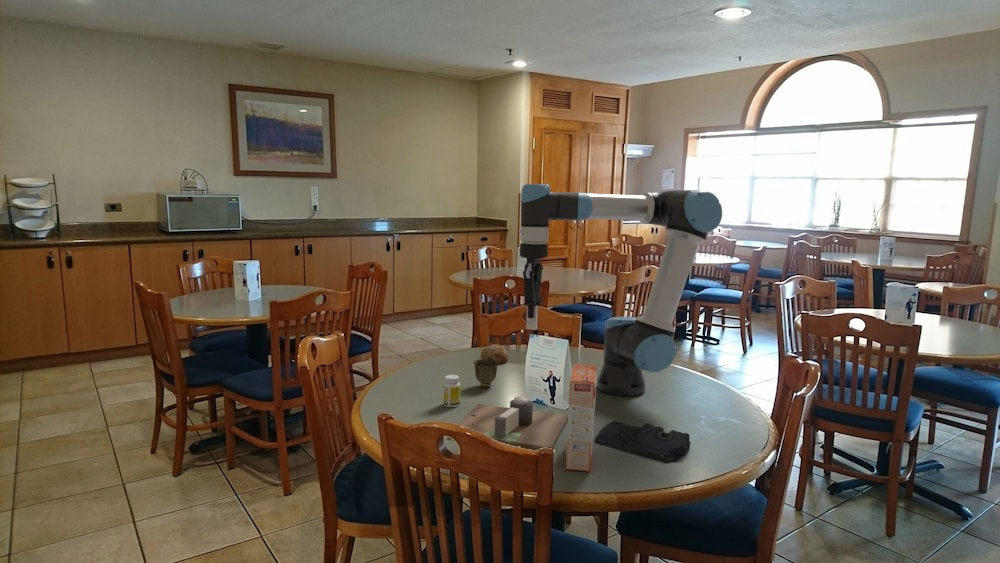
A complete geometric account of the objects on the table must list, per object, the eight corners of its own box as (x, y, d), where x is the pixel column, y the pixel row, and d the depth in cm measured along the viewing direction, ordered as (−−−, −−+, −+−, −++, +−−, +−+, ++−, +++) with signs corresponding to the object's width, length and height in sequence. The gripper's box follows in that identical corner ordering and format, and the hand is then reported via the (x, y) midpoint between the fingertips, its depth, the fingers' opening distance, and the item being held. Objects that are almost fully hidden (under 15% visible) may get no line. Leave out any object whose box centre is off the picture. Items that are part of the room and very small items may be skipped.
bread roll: (479, 371, 219) (477, 355, 214) (484, 353, 227) (483, 336, 223) (506, 373, 217) (505, 356, 213) (510, 355, 226) (509, 338, 221)
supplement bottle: (462, 403, 175) (463, 375, 174) (456, 408, 171) (456, 380, 170) (447, 401, 177) (447, 373, 176) (440, 406, 173) (441, 378, 171)
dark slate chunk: (613, 425, 162) (614, 408, 162) (695, 445, 150) (697, 427, 150) (588, 444, 150) (589, 426, 149) (676, 468, 138) (677, 448, 137)
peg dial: (515, 415, 163) (516, 393, 162) (536, 419, 160) (536, 397, 159) (487, 434, 149) (488, 411, 148) (509, 439, 147) (509, 416, 146)
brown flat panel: (568, 419, 164) (568, 414, 164) (550, 454, 142) (550, 449, 142) (478, 408, 172) (478, 403, 172) (447, 439, 150) (447, 434, 149)
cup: (496, 390, 187) (497, 365, 186) (473, 390, 187) (473, 365, 186) (497, 383, 195) (498, 359, 193) (474, 382, 195) (475, 358, 193)
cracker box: (592, 473, 133) (596, 382, 130) (564, 470, 134) (568, 380, 131) (593, 447, 147) (597, 364, 144) (568, 445, 148) (571, 362, 145)
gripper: (526, 240, 168) (524, 323, 171) (513, 243, 155) (511, 333, 159) (552, 241, 166) (550, 325, 169) (542, 245, 153) (539, 335, 157)
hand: (531, 328), depth 164 cm, fingers closed
